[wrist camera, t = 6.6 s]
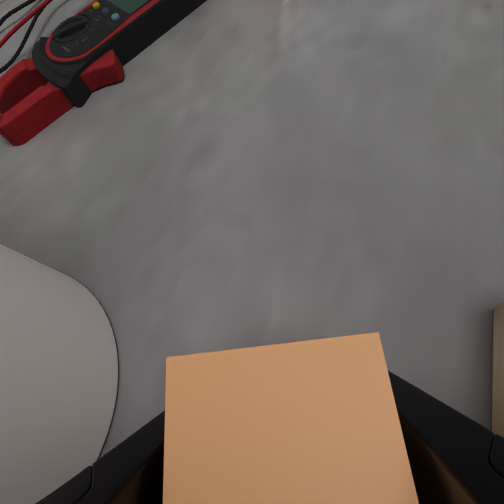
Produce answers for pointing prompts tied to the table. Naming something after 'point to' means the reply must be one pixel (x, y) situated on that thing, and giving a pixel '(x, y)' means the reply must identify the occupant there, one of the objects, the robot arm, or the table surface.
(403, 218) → the table surface
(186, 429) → the square bit
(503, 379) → the socket block
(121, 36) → the digital clamp meter
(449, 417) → the robot arm
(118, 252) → the table surface
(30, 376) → the cylinder
